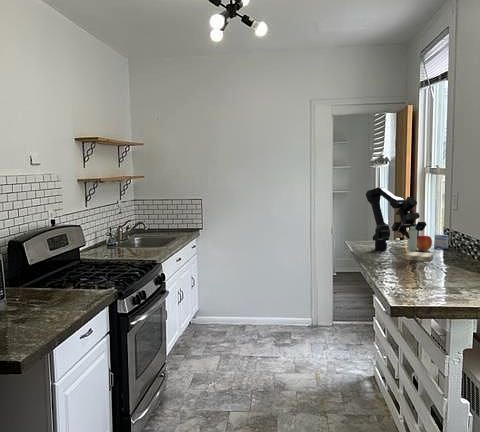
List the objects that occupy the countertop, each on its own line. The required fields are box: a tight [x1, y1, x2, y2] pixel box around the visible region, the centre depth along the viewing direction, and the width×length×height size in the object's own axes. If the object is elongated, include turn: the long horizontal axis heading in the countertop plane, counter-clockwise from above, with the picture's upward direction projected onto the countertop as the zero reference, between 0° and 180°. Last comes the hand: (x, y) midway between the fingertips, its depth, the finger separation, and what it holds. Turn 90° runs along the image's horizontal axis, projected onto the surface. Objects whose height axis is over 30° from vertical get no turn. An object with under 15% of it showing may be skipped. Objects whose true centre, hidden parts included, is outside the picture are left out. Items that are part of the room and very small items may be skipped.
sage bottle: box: [406, 226, 418, 251], centre depth 266 cm, size 5×5×13 cm
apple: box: [417, 235, 433, 252], centre depth 294 cm, size 10×10×10 cm
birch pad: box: [404, 251, 434, 262], centre depth 270 cm, size 13×13×2 cm
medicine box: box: [433, 234, 449, 250], centre depth 304 cm, size 8×4×9 cm, turn 62°
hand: (413, 238), depth 265 cm, fingers closed on sage bottle, 5 cm apart
